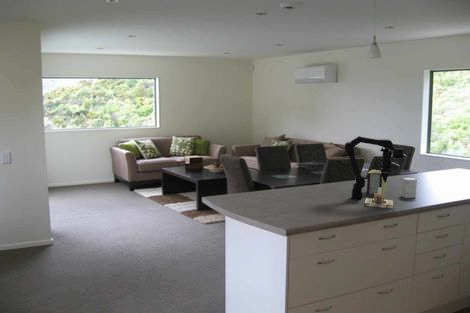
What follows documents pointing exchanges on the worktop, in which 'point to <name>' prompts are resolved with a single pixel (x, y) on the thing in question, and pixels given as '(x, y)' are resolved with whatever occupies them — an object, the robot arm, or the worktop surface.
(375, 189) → the protein box
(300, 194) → the worktop surface
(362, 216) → the worktop surface
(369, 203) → the hook shelf
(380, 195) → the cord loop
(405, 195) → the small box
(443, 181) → the worktop surface
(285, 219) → the worktop surface
